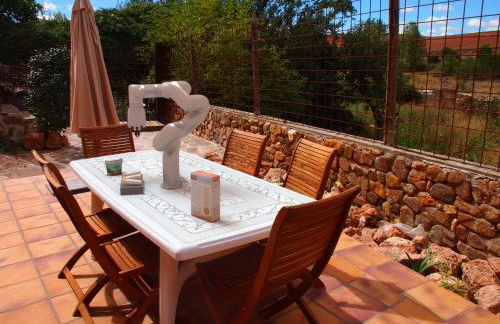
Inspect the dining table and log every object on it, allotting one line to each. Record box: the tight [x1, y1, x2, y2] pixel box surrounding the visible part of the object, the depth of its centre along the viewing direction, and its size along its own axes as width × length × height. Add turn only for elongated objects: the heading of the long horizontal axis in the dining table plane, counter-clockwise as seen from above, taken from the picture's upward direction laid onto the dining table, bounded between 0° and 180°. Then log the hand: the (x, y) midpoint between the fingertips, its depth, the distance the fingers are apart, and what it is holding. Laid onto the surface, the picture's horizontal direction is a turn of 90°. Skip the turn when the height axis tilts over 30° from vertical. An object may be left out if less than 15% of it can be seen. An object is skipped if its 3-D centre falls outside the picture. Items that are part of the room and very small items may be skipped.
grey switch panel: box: [119, 173, 145, 196], centre depth 229 cm, size 12×32×4 cm, turn 16°
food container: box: [104, 157, 124, 177], centre depth 254 cm, size 12×6×10 cm, turn 143°
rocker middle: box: [123, 173, 142, 179], centre depth 227 cm, size 10×4×2 cm, turn 106°
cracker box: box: [190, 170, 221, 223], centre depth 181 cm, size 14×6×21 cm, turn 48°
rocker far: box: [122, 169, 142, 177], centre depth 235 cm, size 10×4×2 cm, turn 106°
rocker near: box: [122, 179, 141, 184], centre depth 218 cm, size 10×4×2 cm, turn 105°
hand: (137, 136), depth 236 cm, fingers closed
